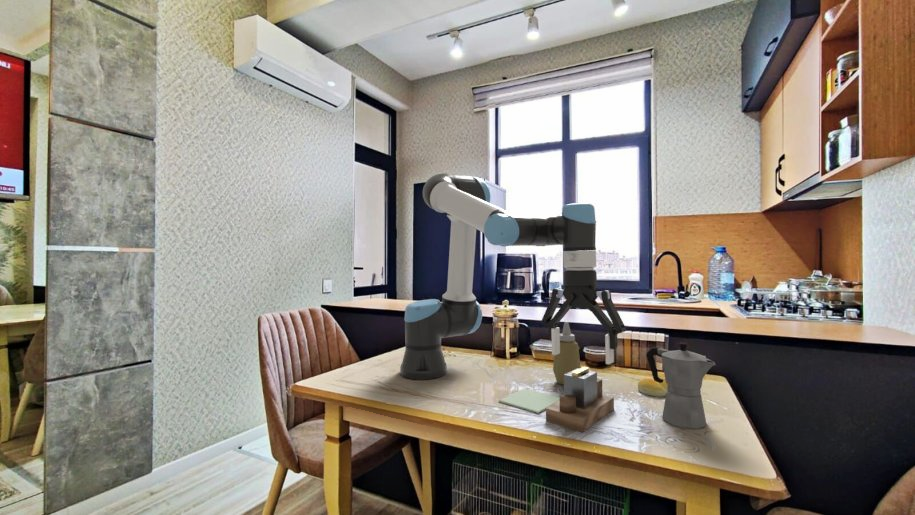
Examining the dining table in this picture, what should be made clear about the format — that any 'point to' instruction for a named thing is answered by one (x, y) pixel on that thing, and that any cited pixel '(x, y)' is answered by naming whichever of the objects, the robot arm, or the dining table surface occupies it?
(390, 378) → the dining table surface
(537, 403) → the mat
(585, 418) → the wooden peg board
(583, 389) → the lever cap
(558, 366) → the squeeze bottle
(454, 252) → the robot arm
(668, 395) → the coffeepot
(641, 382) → the bread roll
